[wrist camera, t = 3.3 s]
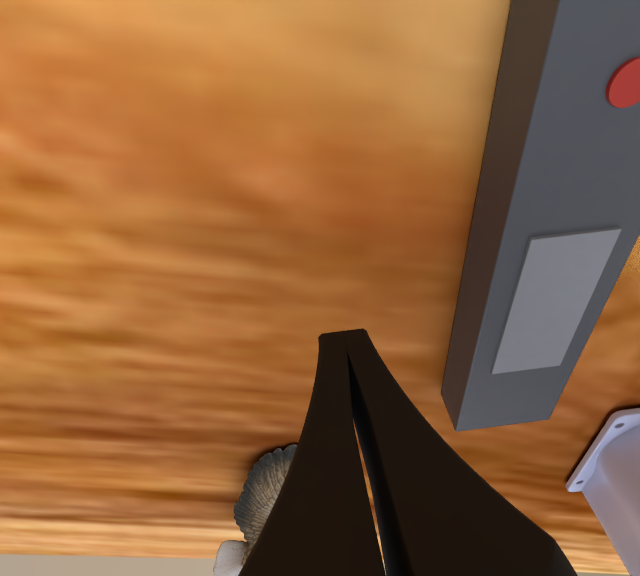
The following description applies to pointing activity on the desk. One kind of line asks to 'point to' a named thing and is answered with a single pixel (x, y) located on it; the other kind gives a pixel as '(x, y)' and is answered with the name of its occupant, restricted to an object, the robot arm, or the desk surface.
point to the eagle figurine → (254, 508)
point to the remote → (547, 208)
